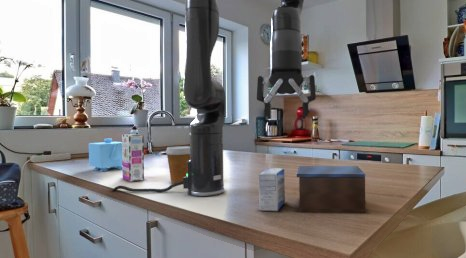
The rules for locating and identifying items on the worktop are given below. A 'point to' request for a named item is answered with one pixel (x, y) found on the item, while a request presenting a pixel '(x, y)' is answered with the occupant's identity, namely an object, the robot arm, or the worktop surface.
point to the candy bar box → (133, 157)
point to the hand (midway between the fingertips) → (286, 118)
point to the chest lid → (330, 171)
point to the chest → (332, 194)
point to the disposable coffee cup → (178, 162)
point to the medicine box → (271, 189)
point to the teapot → (105, 155)
